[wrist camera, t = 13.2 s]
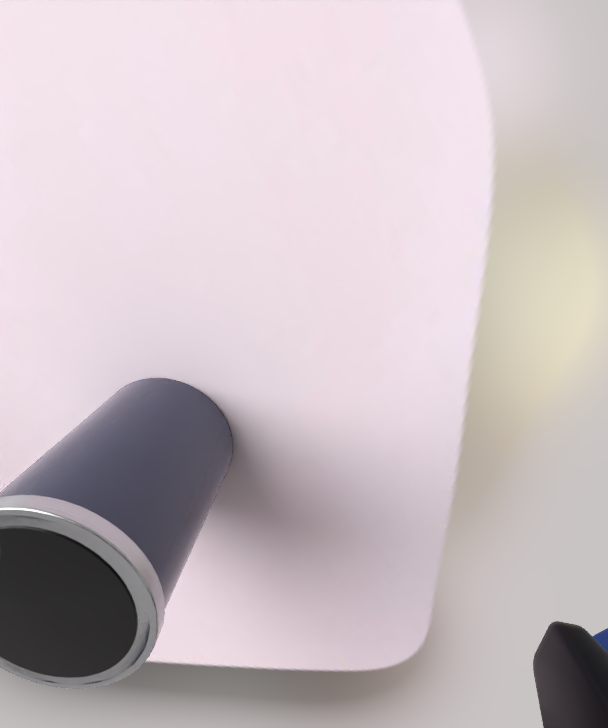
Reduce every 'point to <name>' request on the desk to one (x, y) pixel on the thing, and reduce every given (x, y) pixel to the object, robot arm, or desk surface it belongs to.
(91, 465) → the navy blue tumbler
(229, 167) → the desk surface
